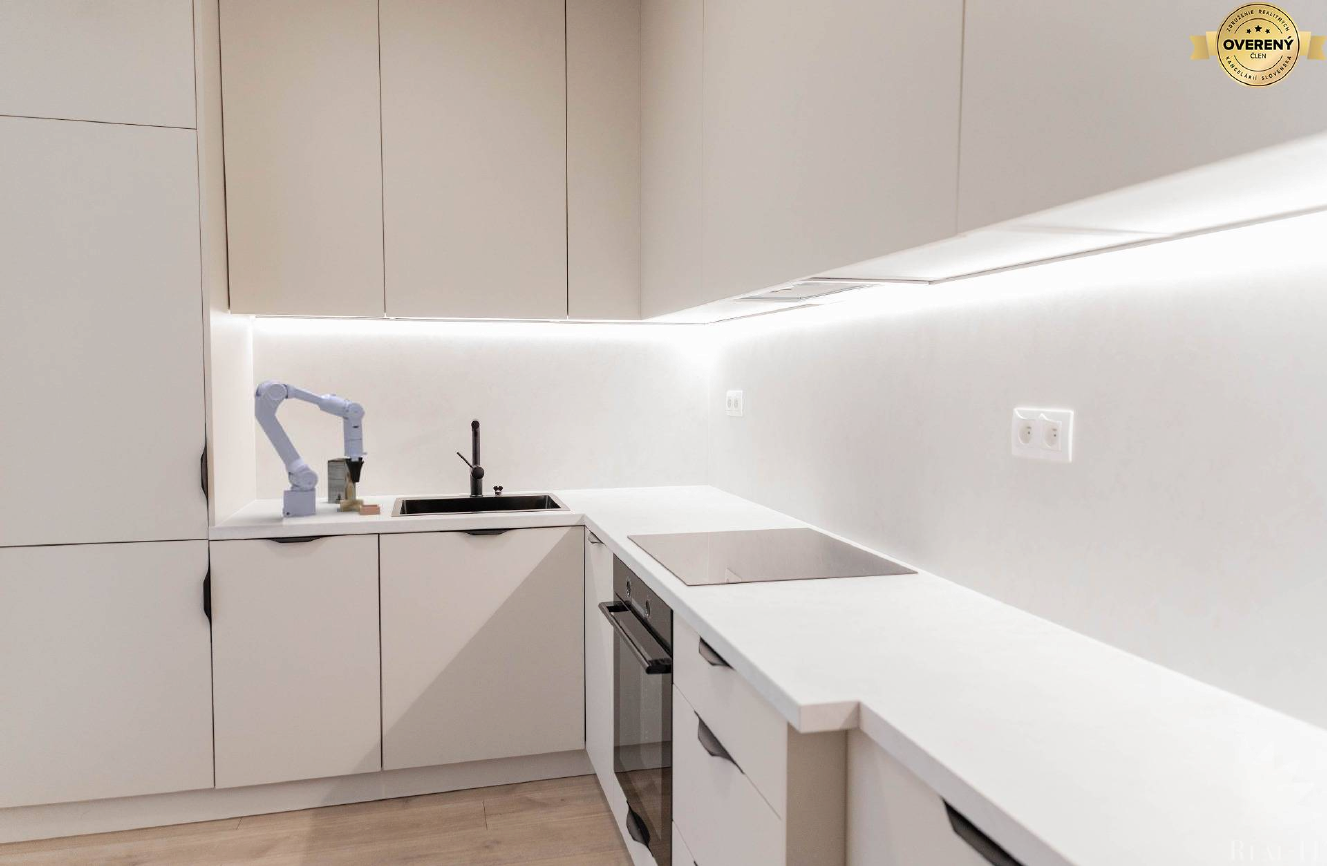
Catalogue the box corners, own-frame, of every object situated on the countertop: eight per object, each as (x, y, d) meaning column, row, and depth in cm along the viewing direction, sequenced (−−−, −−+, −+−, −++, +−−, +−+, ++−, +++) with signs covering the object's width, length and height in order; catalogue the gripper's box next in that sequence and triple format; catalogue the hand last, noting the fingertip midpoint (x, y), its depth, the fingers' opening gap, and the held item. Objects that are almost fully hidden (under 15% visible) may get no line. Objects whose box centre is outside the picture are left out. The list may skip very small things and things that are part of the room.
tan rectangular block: (340, 511, 263) (340, 502, 263) (340, 508, 268) (340, 499, 268) (363, 510, 266) (363, 501, 266) (362, 508, 271) (362, 499, 271)
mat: (337, 515, 262) (337, 511, 262) (336, 512, 269) (336, 508, 268) (367, 514, 266) (367, 510, 266) (365, 511, 272) (365, 507, 272)
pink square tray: (360, 518, 257) (360, 507, 257) (359, 515, 263) (359, 504, 263) (380, 517, 260) (380, 507, 259) (378, 514, 265) (378, 504, 265)
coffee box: (338, 502, 288) (338, 457, 287) (356, 503, 288) (356, 458, 287) (327, 506, 279) (327, 460, 278) (345, 507, 279) (345, 460, 278)
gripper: (367, 440, 261) (369, 482, 262) (365, 437, 274) (366, 477, 275) (343, 441, 258) (345, 484, 259) (342, 437, 271) (344, 478, 272)
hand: (355, 480), depth 267 cm, fingers open, 7 cm apart
